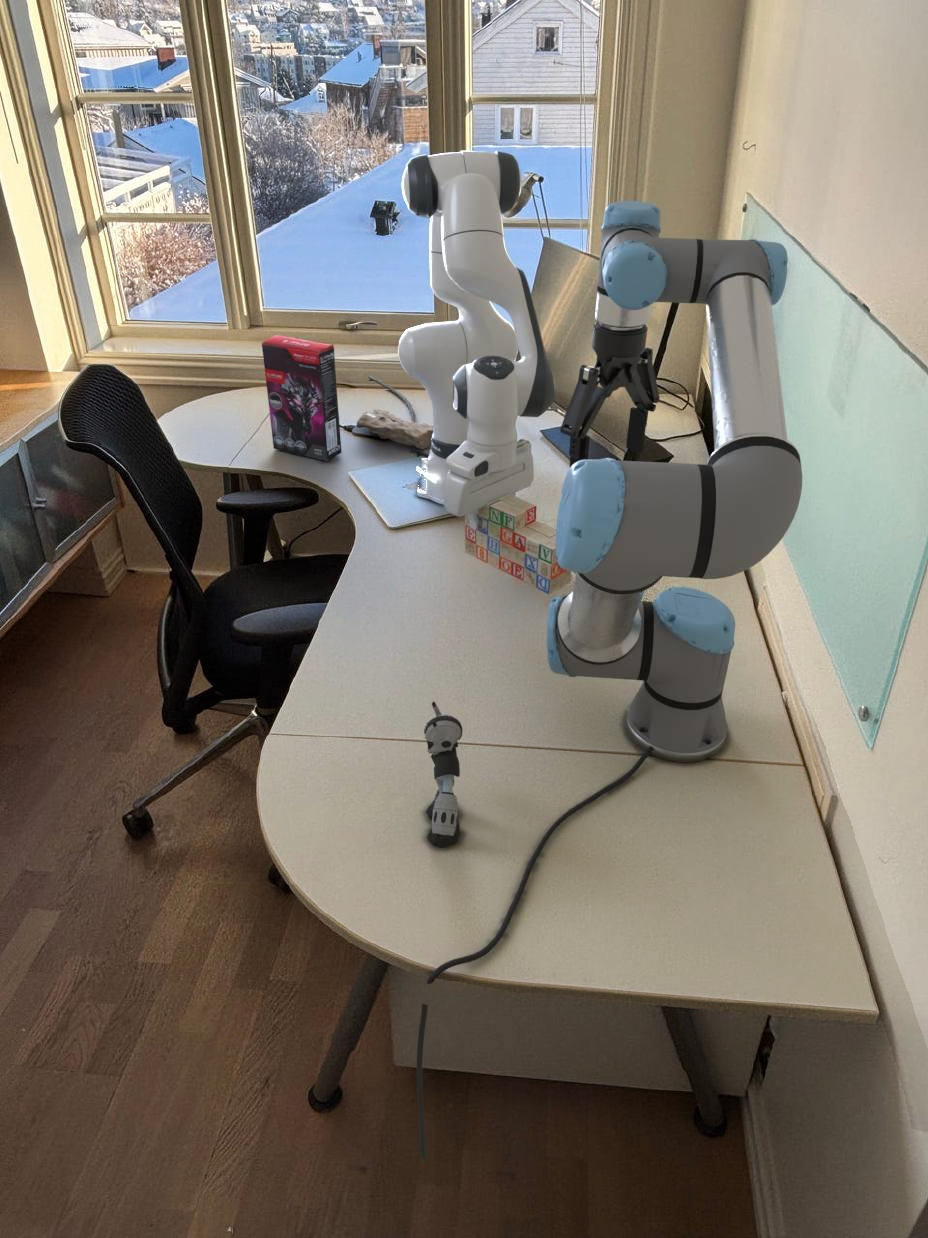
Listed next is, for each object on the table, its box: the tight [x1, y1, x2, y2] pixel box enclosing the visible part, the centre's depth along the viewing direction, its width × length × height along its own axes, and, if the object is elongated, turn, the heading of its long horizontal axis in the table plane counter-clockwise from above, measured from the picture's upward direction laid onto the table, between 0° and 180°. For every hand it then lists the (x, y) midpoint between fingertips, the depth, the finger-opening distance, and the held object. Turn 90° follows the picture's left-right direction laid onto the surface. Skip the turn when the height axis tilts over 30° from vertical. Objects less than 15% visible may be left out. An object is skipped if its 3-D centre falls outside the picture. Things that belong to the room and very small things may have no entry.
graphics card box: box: [261, 334, 342, 462], centre depth 222 cm, size 17×7×27 cm, turn 62°
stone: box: [356, 409, 434, 450], centre depth 235 cm, size 21×15×6 cm
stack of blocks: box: [464, 494, 572, 595], centre depth 167 cm, size 21×6×12 cm, turn 45°
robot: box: [423, 701, 463, 848], centre depth 121 cm, size 20×5×20 cm, turn 3°
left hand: (489, 520), depth 171 cm, fingers closed on stack of blocks, 6 cm apart
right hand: (606, 462), depth 141 cm, fingers open, 13 cm apart
